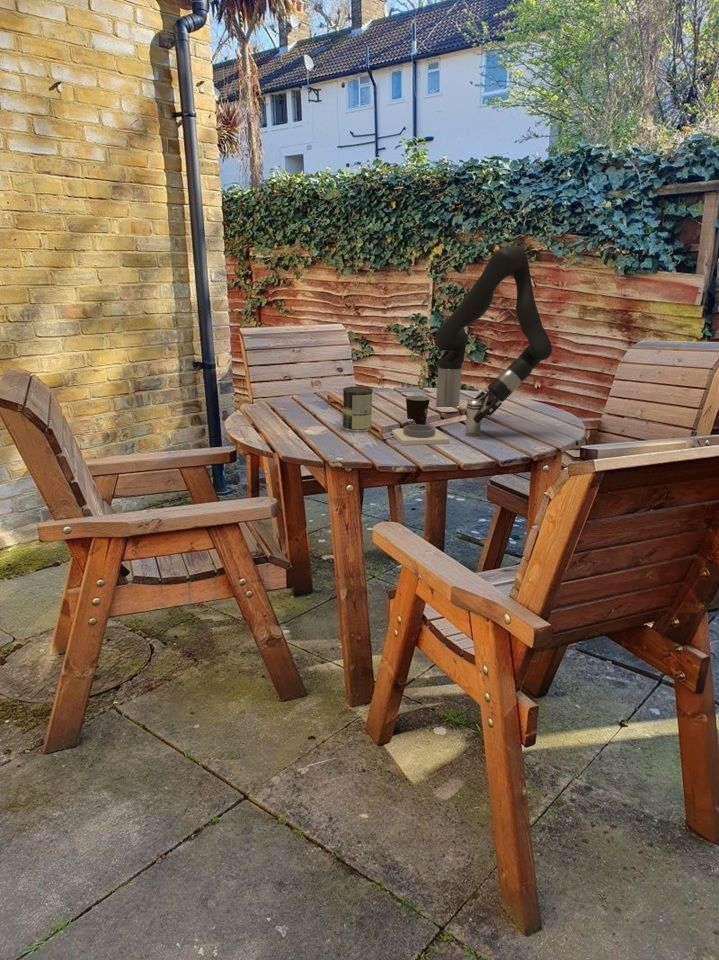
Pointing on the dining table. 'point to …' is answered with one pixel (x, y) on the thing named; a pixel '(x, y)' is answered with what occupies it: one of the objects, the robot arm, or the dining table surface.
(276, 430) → the dining table surface
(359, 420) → the coffee can
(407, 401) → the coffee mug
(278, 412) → the dining table surface
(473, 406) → the cylinder
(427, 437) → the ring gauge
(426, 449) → the dining table surface
